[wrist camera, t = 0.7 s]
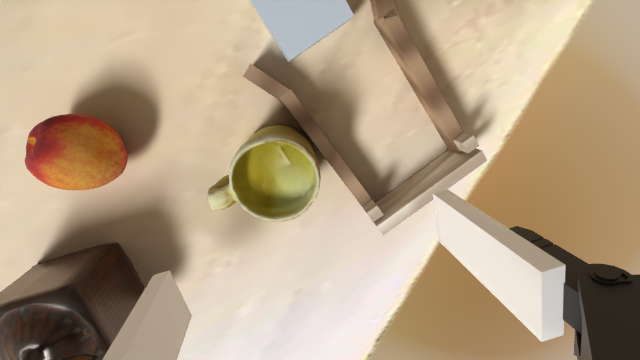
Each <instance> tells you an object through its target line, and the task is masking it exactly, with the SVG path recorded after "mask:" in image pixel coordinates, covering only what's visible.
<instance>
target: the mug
mask: <svg viewBox="0 0 640 360" xmlns="http://www.w3.org/2000/svg"><path fill="white" fill-rule="evenodd" d="M319 187H320V167H319V163H318V160H317V158H316V156H315V153H314V149H313V147H312V145H311V143H310V142H309V140H308V139H307V137H306V136H305V135H304V134H302V133H301V132H300V131H298V130H297V129H295V128H292V127H288V126H283V125H274V126H268V127H265V128H263V129H261V130H259V131H257V132H256V133H255V134H253V135H252V136H251V137H250V138H249V140H248V141H247V142H246V143H245V144H244V145H243V146H242V147H241V148H240V149H239V150H238V151H237V153H236V155H235V157H234V158H233V160H232V162H231V165H230V169H229V175H227V176H225V177H223V178H222V179H220V180H219V181H218V182H217V183H216V184H215V185H213V186H212V187H211V188H210V189H209V190H208V194H207V200H208V203H209V205H210V207H211V209H213V210H218V209H225V208H227V207H230V206H231V205H233V204H234V203H235V202H238V203H239V204H240V205H241V207H242V208H243V209H244V210H245V211H246V212H248V213H249V214H251V215H253V216H254V217H256V218H259V219H261V220H265V221H271V222H278V221H287V220H291V219H294V218H296V217H298V216H300V215H301V214H303V213H304V212H305V211H306V210H307V209H308V208H309V207H310V205H311V204H312V202H313V201H314V199H315V198H316V197H317V194H318V191H319Z"/></svg>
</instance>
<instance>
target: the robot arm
mask: <svg viewBox="0 0 640 360" xmlns="http://www.w3.org/2000/svg"><path fill="white" fill-rule="evenodd" d="M433 200H434V207H435V215H436V222H437V230H438V238H439V242H440V243H441V244H442V245H444V246H445V247H446V248H447V249H448V250H449V251H450V252H451V253H452V254H453V255H454V256H455V257H456V258H457V259H458V260H459V261H460V262H461V263H462V264H463V265H464V266H465V267H466V268H467V269H468V270H469V271H470V272H471V273H472V274H473V275H474V276H475V277H476V278H477V279H478V280H479V281H480V282H481V283H482V284H483V285H484V286H485V287H486V288H488V289H489V291H490V292H491V293H492V294H493V295H494V296H495V297H497V298H498V299H499V300H500V301H501V302H502V303H503V304H504V305H505V306H506V307H507V308H508V309H509V310H510V311H511V312H512V313H513V314H514V315H515V316H516V317H517V318H518V319H519V320H520V321H521V322H522V323H523V324H524V325H525V326H526V327H527V328H528V329H529V330H530V331H531V332H532V333H533V334H534V335H535V336H536V337H537V338H538V339H539V340H540V341H541V342H543V341H546V340H549V339H552V338H555V337H558V336H561V335H563V334H564V321H566V322H567V323H568V324H569V325H570V326H572V327H573V328H574V329H575V344H574V355H576V356H577V359H578V360H640V275H631V274H629V273H628V272H626V271H625V270H623V269H620V268H617V267H615V266H611V265H606V264H588V263H586V262H584V261H583V260H581V259H579V258H577V257H576V256H574V255H572V254H571V253H569V252H567V251H566V250H564V249H562V248H560V247H559V246H557V245H554V244H553V243H552V242H550V241H549V240H547V239H544V238H543V237H542V236H540V235H538V234H537V233H535V232H533V231H531V230H528V229H525V228H521V227H518V226H516V227H513V228H510V229H508V228H507V227H505V226H504V225H502V224H500V223H499V222H497V221H496V220H494V219H493V218H491V217H490V216H488V215H487V214H485V213H483V212H482V211H480V210H479V209H477V208H476V207H474V206H472V205H471V204H469V203H468V202H466V201H465V200H463V199H462V198H460V197H458V196H457V195H455V194H454V193H452V192H451V191H449V190H443V191H440V192H437V193H433ZM191 316H192V315H191V313H190V311H189V309H188V307H187V305H186V303H185V301H184V299H183V297H182V295H181V293H180V290H179V288H178V286H177V284H176V282H175V280H174V278H173V276H172V274H171V272H170V270H169V271H166V272H162V273H159V274H155V275H153V277H152V278H151V280H150V282H149V283H148V285H147V287H146V288H145V290H144V292H143V293H142V295H141V296H140V298H139V300H138V301H137V303H136V305H135V306H134V308H133V310H132V311H131V313H130V315H129V316H128V318H127V320H126V321H125V323H124V325H123V326H122V328H121V330H120V331H119V333H118V335H117V336H116V338H115V340H114V341H113V343H112V344H111V346H110V348H109V349H108V351H106V352H103V353H101V354H100V355H99V356H98V357H97V358H96V359H95V360H177V357H178V354H179V351H180V348H181V345H182V342H183V339H184V337H185V334H186V331H187V328H188V325H189V322H190V319H191Z"/></svg>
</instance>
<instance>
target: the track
mask: <svg viewBox="0 0 640 360" xmlns="http://www.w3.org/2000/svg"><path fill="white" fill-rule="evenodd" d="M370 1H371V6H372V11H373V16H374V21H375V22H374V24H375V25H376V27H377V29H378V31H379V32H380V34H381V36H382V37H383V39H384V41H385V42H386V44H387V46H388V47H389V49H390V51H391V53H392V54H393V56H394V58H395V59H396V61H397V63H398V64H399V66H400V68H401V70H402V71H403V73H404V75H405V76H406V78H407V80H408V81H409V83H410V85H411V87H412V88H413V90H414V92H415V93H416V95H417V97H418V98H419V100H420V102H421V104H422V105H423V107H424V109H425V110H426V112H427V114H428V115H429V117H430V119H431V120H432V122H433V124H434V126H435V127H436V129H437V131H438V132H439V134H440V136H441V137H442V139H443V141H444V143H445V144H446V146H447V148H448V149H449V150H447V151H446V152H445V153H443V154H442V155H440V156H439V157H438V158H436V159H435V160H434V161H432V162H431V163H429V164H428V165H427V166H425V167H424V168H423V169H421V170H420V171H419V172H417V173H416V174H414V175H413V176H412V177H410V178H409V179H408V180H406V181H405V182H403V183H402V184H401V185H399V186H398V187H397V188H395V189H394V190H392V191H391V192H390V193H388V194H387V195H386V196H384V197H383V198H382V199H380V200H379V201H377V202H376V203H375V202H374V201H373V200H372V199H371V197H370V196H369V195H368V193H367V192H366V190H365V189H364V188H363V186H362V185H361V184H360V182H359V181H358V180H357V178H356V177H355V176H354V174H353V173H352V172H351V170H350V169H349V167H348V166H347V165H346V163H345V162H344V161H343V159H342V158H341V157H340V155H339V154H338V153H337V151H336V150H335V148H334V147H333V146H332V144H331V143H330V142H329V140H328V139H327V138H326V136H325V135H324V134H323V132H322V131H321V129H320V128H319V127H318V125H317V124H316V123H315V121H314V120H313V119H312V117H311V116H310V115H309V113H308V112H307V111H306V109H305V108H304V106H303V105H302V104H301V102H300V101H299V100H298V98H297V97H296V96H295V94H294V93H293V92H292V90H291V89H290V88H289V89H288V88H286V87H285V86H283V85H282V84H280V83H279V82H277V81H276V80H274V79H273V78H271V77H270V76H268V75H267V74H265V73H264V72H262V71H261V70H259V69H258V68H256V67H255V66H253V65H252V64H251V63H250V65H249V67H248V69H247V70H246V72H245V74H244V76H243V77H245V78H246V79H248V80H249V81H251V82H253V83H254V84H256V85H257V86H259V87H260V88H262V89H263V90H265V91H266V92H268V93H269V94H271V95H272V96H274V97H275V98H277V99H278V100H280V101H281V102H283V103H284V104H285V106H286V107H287V108H288V110H289V111H290V112H291V113H292V115H293V116H294V117H295V119H296V120H297V121H298V123H299V124H300V125H301V127H302V128H303V129H304V131H305V132H306V133H307V135H308V136H309V137H310V138H311V140H312V141H313V142H314V144H315V145H316V146H317V148H318V149H319V150H320V152H321V153H322V154H323V156H324V157H325V158H326V160H327V161H328V162H329V164H330V165H331V166H332V167H333V169H334V170H335V171H336V173H337V174H338V175H339V177H340V178H341V179H342V181H343V182H344V183H345V185H346V186H347V187H348V189H349V190H350V191H351V192H352V194H353V195H354V196H355V198H356V199H357V200H358V202H359V203H360V204H361V206H362V207H363V208H364V210H365V211H366V213H367V214H368V215H369V217H370V218H371V219H372V221H373V222H374V223H375V225H376V226H377V227H378V229H379V230H380V231H381V233H382V234H383V235H384V234H386V233H387V232H388V231H390V230H391V229H393V228H394V227H395V226H397V225H398V224H400V223H401V222H402V221H404V220H405V219H407V218H408V217H409V216H411V215H412V214H413V213H415V212H416V211H418V210H419V209H420V208H422V207H423V206H425V205H426V204H427V203H429V202H430V201H432V200H433V193H437V192H440V191H443V190H447V189H448V188H450V187H451V186H452V185H454V184H455V183H457V182H458V181H459V180H461V179H462V178H464V177H465V176H466V175H468V174H469V173H471V172H472V171H473V170H475V169H476V168H478V167H479V166H480V165H482V164H483V163H484V162H486V161H487V159H486V157H485V155H484V154H483V152H482V150H479V149H476V147H478V146H479V144H478V143H477V141H476V139H475V137H474V135H471V134H467V133H463V131H462V129H461V127H460V125H459V124H458V122H457V120H456V118H455V116H454V115H453V113H452V111H451V109H450V107H449V106H448V104H447V102H446V100H445V98H444V97H443V95H442V93H441V91H440V89H439V88H438V86H437V84H436V82H435V80H434V79H433V77H432V75H431V73H430V72H429V70H428V68H427V66H426V64H425V63H424V61H423V59H422V57H421V55H420V54H419V52H418V50H417V48H416V46H415V45H414V43H413V41H412V39H411V37H410V36H409V34H408V32H407V30H406V28H405V27H404V25H403V23H402V21H401V19H400V18H399V16H398V14H397V9H396V4H395V0H370Z"/></svg>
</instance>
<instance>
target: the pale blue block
mask: <svg viewBox="0 0 640 360" xmlns="http://www.w3.org/2000/svg"><path fill="white" fill-rule="evenodd" d="M249 1H250V2H251V4H252V6H253V7H254V9H255V10H256V12H257V14H258V15H259V17H260V18H261V20H262V21H263V23H264V25H265V26H266V28H267V29H268V31H269V33H270V34H271V36H272V37H273V39H274V40H275V42H276V44H277V45H278V47H279V48H280V50H281V52H282V53H283V55H284V56H285V58H286V59H287V61H288V62H290V61H291V60H293V59H294V58H296V57H297V56H299V55H300V54H302V53H303V52H304V51H306V50H307V49H309V48H310V47H312V46H313V45H315V44H316V43H317V42H319V41H320V40H322V39H323V38H325V37H326V36H328V35H329V34H330V33H332V32H333V31H335V30H336V29H338V28H339V27H341V26H342V25H344V24H345V23H346V22H348V21H349V20H350V19H351V18H353V17H354V14H353V12H352V10H351V9H350V7H349V5H348V3H347V1H346V0H249Z"/></svg>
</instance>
